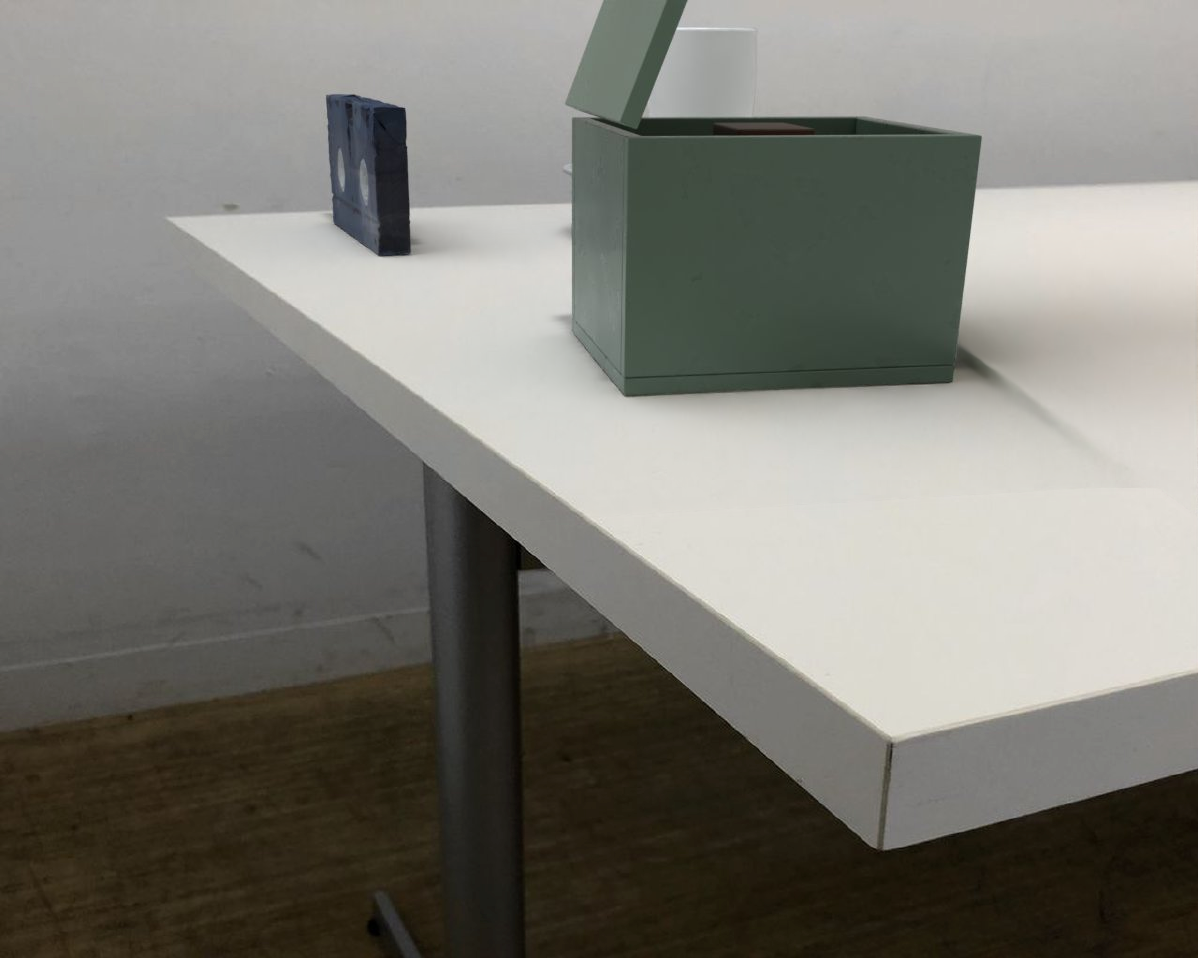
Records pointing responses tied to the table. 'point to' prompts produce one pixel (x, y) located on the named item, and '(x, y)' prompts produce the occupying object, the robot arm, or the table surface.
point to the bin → (770, 252)
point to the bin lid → (624, 58)
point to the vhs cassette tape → (369, 171)
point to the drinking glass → (707, 74)
